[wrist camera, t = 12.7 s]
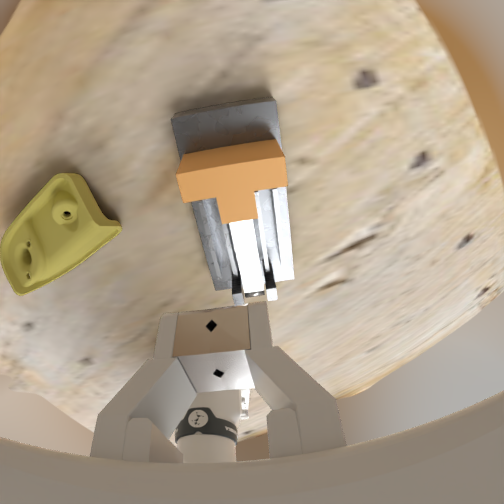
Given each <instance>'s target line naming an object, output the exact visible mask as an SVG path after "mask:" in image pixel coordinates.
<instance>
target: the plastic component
mask: <svg viewBox="0 0 504 504" xmlns="http://www.w3.org/2000/svg"><path fill="white" fill-rule="evenodd" d="M65 211H69V212H70V213H71V214H69V215H66V214H64V212H65ZM121 231H122V227H121V225H120V223H119V222H118V221H116V220H109V219H107V218H106V217H105V216H104V215H103V213H102V212H101V210H100V208H99V206H98V205H97V203H96V201H95V199H94V197H93V195H92V193H91V191H90V189H89V187H88V185H87V183H86V181H85V180H84V178H83V177H82V176H80V175H79V174H76V173H59V174H56V175H55V176H54V177H53V178H52V179H51V180H50V181H49V182H48V183H47V184H46V185H45V186H44V187H43V188H42V189H41V190H40V191H39V192H38V193H37V195H36V196H35V197H34V198H33V199H32V200H31V201H30V202H29V203H28V205H27V206H26V207H25V208H24V209H23V210H22V211H21V213H20V214H19V215H18V216H17V217H16V219H15V220H14V221H13V222H12V223H11V225H10V226H9V227H8V229H7V230H6V232H5V234H4V235H3V238H2V240H1V244H0V260H1V265H2V268H3V271H4V273H5V275H6V277H7V279H8V281H9V283H10V285H11V287H12V289H13V291H14V292H15V293H16V294H17V295H19V296H22V295H25V294H28V293H30V292H32V291H34V290H36V289H38V288H40V287H42V286H44V285H46V284H48V283H50V282H52V281H54V280H56V279H57V278H59V277H61V276H62V275H64V274H66V273H67V272H69V271H70V270H72V269H74V268H75V267H76V266H78V265H79V264H81V263H82V262H83V261H85V260H86V259H87V258H89V257H90V256H91V255H92V254H94V253H95V252H96V251H97V250H99V249H100V248H101V247H103V246H104V245H105V244H106V243H108V242H109V241H110V240H112V239H113V238H114V237H116V236H117V235H118V234H119V233H120V232H121ZM29 242H30V244H29ZM29 274H30V276H29Z"/></svg>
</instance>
